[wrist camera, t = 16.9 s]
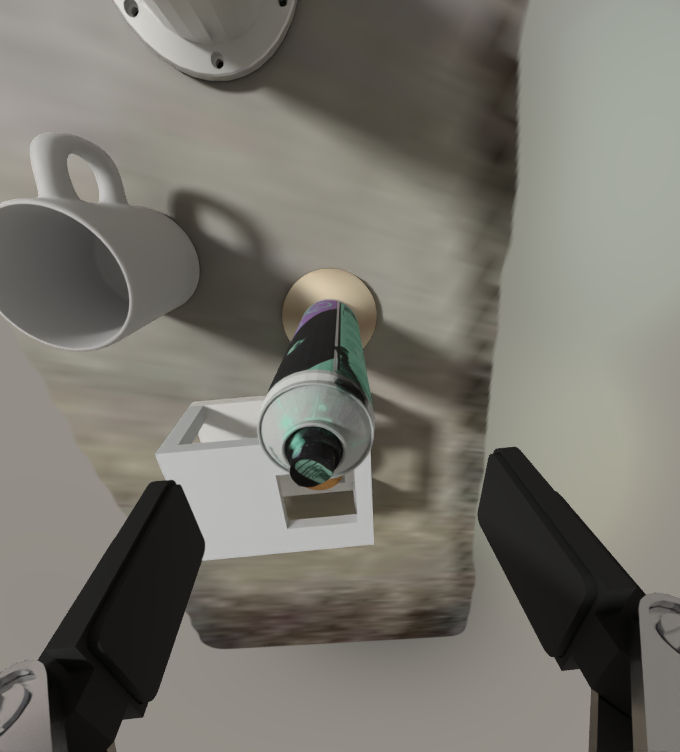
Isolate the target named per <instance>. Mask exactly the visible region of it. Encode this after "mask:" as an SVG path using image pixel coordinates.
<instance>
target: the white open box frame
mask: <svg viewBox="0 0 680 752" xmlns="http://www.w3.org/2000/svg"><path fill="white" fill-rule="evenodd" d="M265 397H266V395H265V396H253V397H242V398H231V399H219V400H208V401H197V402H192V403H191V405H190V406H189V407H188V409H187V410H186V412H185V413H184V414H183V416H182V417H181V419H180V420H179V421H178V423H177V424H176V425H175V427H174V428H173V430H172V431H171V432H170V434H169V435H168V437H167V438H166V439H165V441H164V442H163V443H162V445H161V446H160V448H159V449H158V450H157V452H156V453H155V456H156V458H157V461H158V463H159V466H160V468H161V470H162V473H163V475H164V477H165V480H174V481H175V482H176V484H180V485H181V486H182V488H183V491H184V493H185V495H186V498H187V500H188V502H189V505H190V507H191V509H192V512H193V514H194V516H195V519H196V521H197V524H198V526H199V528H200V531H201V533H202V535H203V538H204V540H205V552H204V556H203V559H202V561H204V560H214V559H225V558H235V557H246V556H256V555H267V554H277V553H288V552H298V551H309V550H319V549H329V548H340V547H350V546H361V545H371V544H374V534H373V507H372V480H371V453H370V452H369V454H368V456H367V457H366V458H365V460H364V461H363V462H362V463H361V464H360V465H359V466H358V467H357V468H355V469H354V470H352V471H351V472H349V473H347V474H345V475H343V476H342V479H341V480H340V482H339V483H338V484H337V485H335V486H334V487H332V488H330V489H326V490H311V489H308V488H306V487H302V486H299V485H297V484H296V483H295V482H294V481H293V480H292V478H291V476H290V474H288V473H286V472H284V471H282V470H281V469H279V468H278V467H276V466H275V465H274V464H273V463H272V462H271V461H270V460H269V459H268V458H267V456H266V455H265V453H264V452H263V450H262V448H261V446H260V444H259V440H258V435H257V424H258V420H259V413H260V410H261V406H262V403H263V401H264V399H265ZM197 434H198V435H199V438H200V441H201V443H194V444H192V442H193V440H194V439H195V437H196V435H197ZM350 490H353V494H354V503H355V511H356V514H351V515H341V516H330V517H319V518H309V519H298V520H288V517H287V513H286V508H285V503H284V498H283V497H286V496H297V495H307V494H318V493H329V492H340V491H350Z"/></svg>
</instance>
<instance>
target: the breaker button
mask: <svg viewBox="0 0 680 752" xmlns="http://www.w3.org/2000/svg"><path fill="white" fill-rule="evenodd" d="M342 476H343V475H342ZM342 476H340V477H337V478H333V479H328V480H327V481H326V482H324V483H322V484H320V485H317V486H315V487H306V488H308V489H311V490H326V489H330V488H332V487H334V486H335V485H337V484H338V483H339V482H340V480H341V479H342Z"/></svg>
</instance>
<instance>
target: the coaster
mask: <svg viewBox="0 0 680 752" xmlns="http://www.w3.org/2000/svg"><path fill="white" fill-rule="evenodd" d="M323 299H336V300H339V301H342V302H343V303H345V304H347V305H348V306H349V307H350V308H351V309H352V310H353V312H354V313H355V316H356V318H357V321H358V325H359V331H360V337H361V342H362V348H364V347H365V346H366V344H367V343H368V342H369V340H370V339H371V337H372V335H373V333H374V330H375V327H376V321H377V311H376V305H375V301H374V299H373V296H372V294H371V293H370V291H369V289H368V288H367V287H366V285H365V284H364V283H363V282H362V281H361V280H360V279H358V278H357V277H356V276H354V275H353V274H351V273H349V272H346V271H343V270H340V269H333V268H325V269H319V270H315V271H312V272H310V273H308V274H306V275H304V276H303V277H301V278H300V279H299V280H298V281H297V282H296V283H295V284H294V285H293V286H292V288H291V289H290V291H289V292H288V294H287V296H286V298H285V301H284V305H283V310H282V320H283V326H284V330H285V333H286V335H287V337H288V339H289V340H290V342H291V341H292V339H293V336H294V334H295V332H296V330H297V328H298V326H299V324H300V321H301V319H302V317H303V315H304V313H305V312H306V310H307V309H308V308H309V307H310V306H311V305H312V304H314V303H315V302H317V301H320V300H323Z"/></svg>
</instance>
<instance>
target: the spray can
mask: <svg viewBox="0 0 680 752" xmlns="http://www.w3.org/2000/svg"><path fill="white" fill-rule="evenodd" d="M374 429H375V417H374V411H373V405H372V400H371V394H370V388H369V383H368V377H367V371H366V365H365V360H364V354H363V348H362V342H361V337H360V331H359V325H358V321H357V318H356V316H355V313H354V312H353V310H352V309H351V308H350V307H349V306H348V305H347V304H345V303H343V302H342V301H339V300H336V299H323V300H320V301H317V302H315V303H314V304H312V305H311V306H310V307H309V308H308V309H307V310H306V312H305V313H304V315H303V317H302V319H301V321H300V324H299V326H298V328H297V330H296V332H295V334H294V336H293V339H292V341H291V343H290V345H289V347H288V349H287V352H286V354H285V356H284V358H283V360H282V362H281V364H280V367H279V369H278V371H277V373H276V375H275V377H274V379H273V382H272V384H271V386H270V388H269V390H268V392H267V395H266V397H265V399H264V401H263V403H262V406H261V410H260V413H259V420H258V424H257V435H258V440H259V444H260V446H261V448H262V450H263V452H264V453H265V455H266V456H267V458H268V459H269V460H270V461H271V462H272V463H273V464H274V465H275V466H276V467H278V468H279V469H281V470H282V471H284V472H286V473H288V474H290V476H291V478H292V480H293V481H294V482H295V483H296V484H297V485H299V486H302V487H315V486H317V485H320V484H322V483H324V482H326V481H327V480H328V479H333V478H337V477H340V476H342V475H345V474H347V473H349V472H351V471H352V470H354V469H355V468H357V467H358V466H359V465H360V464H361V463H362V462H363V461H364V460H365V458H366V457H367V456H368V454H369V452H370V450H371V448H372V445H373V440H374Z"/></svg>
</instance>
